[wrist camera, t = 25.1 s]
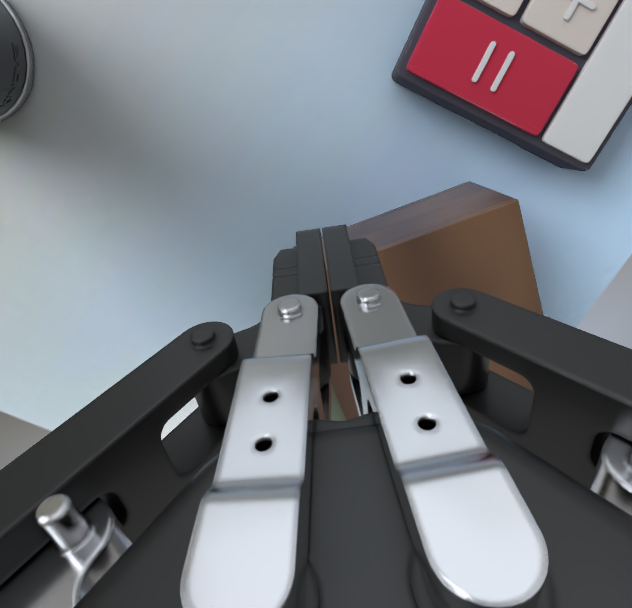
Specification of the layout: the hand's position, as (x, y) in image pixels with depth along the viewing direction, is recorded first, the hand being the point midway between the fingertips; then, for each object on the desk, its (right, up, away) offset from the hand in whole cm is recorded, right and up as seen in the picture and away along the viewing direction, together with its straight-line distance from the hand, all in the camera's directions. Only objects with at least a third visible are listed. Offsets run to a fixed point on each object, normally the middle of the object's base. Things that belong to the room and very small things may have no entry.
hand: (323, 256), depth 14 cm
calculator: (+14, +16, +19) cm, 29 cm away
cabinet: (+7, -1, +25) cm, 26 cm away
